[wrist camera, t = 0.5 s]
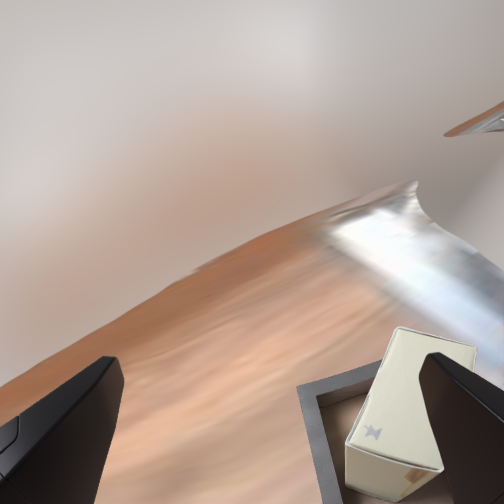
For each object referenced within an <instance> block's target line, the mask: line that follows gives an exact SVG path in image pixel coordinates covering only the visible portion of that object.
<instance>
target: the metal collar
mask: <svg viewBox="0 0 504 504" xmlns="http://www.w3.org/2000/svg"><path fill="white" fill-rule="evenodd" d="M382 360H383V359H382ZM382 360H379V361H376V362H374V363H371V364H368V365H365V366H362V367H359V368H356V369H353V370H350V371H347V372H344V373H341V374H338V375H334V376H331V377H328V378H324V379H321V380H318V381H314V382H311V383H307V384H304V385H300V386H296V387H297V392H298V396H299V400H300V404H301V409H302V413H303V417H304V422H305V426H306V430H307V435H308V439H309V443H310V448H311V452H312V456H313V461H314V465H315V470H316V474H317V478H318V483H319V487H320V492H321V496H322V501H323V504H343V501H342V497H341V493H340V489H339V485H338V481H337V477H336V473H335V469H334V465H333V461H332V457H331V453H330V449H329V445H328V441H327V437H326V434H325V430H324V426H323V422H322V418H321V414H320V411H319V408H320V407H323V406H326V405H330V404H333V403H336V402H340V401H343V400H346V399H349V398H352V397H355V396H358V395H361V394H364V393H367V392H369V391H370V389H371V386H372V384H373V382H374V379H375V377H376V375H377V372H378V370H379V368H380V365H381V363H382Z"/></svg>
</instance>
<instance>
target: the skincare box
mask: <svg viewBox="0 0 504 504" xmlns="http://www.w3.org/2000/svg"><path fill="white" fill-rule="evenodd" d="M433 352H441V353H442V354H444V355H446V356H447V357H449V358H451V359H452V360H454V361H456V362H457V363H459V364H460V365H462V366H464V367H465V368H467V369H469V370H470V371H472V372H474V367H475V360H476V352H477V347H476V346H474V345H470V344H466V343H462V342H459V341H455V340H451V339H448V338H444V337H440V336H437V335H432V334H429V333H425V332H422V331H418V330H414V329H410V328H406V327H402V326H399V327H397V328H396V329H395V330H394V333H393V335H392V338H391V341H390V343H389V346H388V348H387V351H386V353H385V356H384V358H383V360H382V363H381V365H380V368H379V370H378V372H377V375H376V377H375V379H374V382H373V384H372V386H371V389H370V391H369V393H368V396H367V398H366V400H365V402H364V404H363V407H362V409H361V411H360V413H359V415H358V417H357V419H356V421H355V423H354V425H353V428H352V430H351V432H350V433H349V435H348V437H347V439H346V441H345V486H346V487H348V488H350V489H352V490H355V491H358V492H360V493H363V494H366V495H368V496H371V497H374V498H378V499H381V500H384V501H389V502H393V503H397V502H398V501H400V500H402V499H403V498H405V497H406V496H408V495H409V494H411V493H413V492H414V491H415V490H417V489H419V488H420V487H421V486H423V485H424V484H426V483H427V482H428V481H430V480H431V479H433V478H434V477H435V476H437V475H438V474H440V473H441V472H442V471H443V470H444V466H443V463H442V459H441V456H440V453H439V450H438V447H437V444H436V441H435V438H434V435H433V432H432V429H431V426H430V423H429V420H428V416H427V412H426V407H425V403H424V399H423V395H422V391H421V387H420V384H419V372H420V369H421V367H422V364H423V362H424V359H425V357H426V355H427V354H428V353H433Z"/></svg>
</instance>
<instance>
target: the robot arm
mask: <svg viewBox="0 0 504 504" xmlns="http://www.w3.org/2000/svg"><path fill="white" fill-rule="evenodd" d="M419 384H420V387H421V391H422V395H423V399H424V403H425V407H426V412H427V416H428V420H429V423H430V426H431V429H432V432H433V435H434V438H435V441H436V444H437V447H438V450H439V453H440V456H441V459H442V463H443V466H444V469H445V473H446V476H447V479H448V483H449V487H450V490H451V494H452V498H453V501H454V504H504V391H503V390H501V389H500V388H498V387H497V386H495V385H493V384H492V383H490V382H488V381H487V380H485V379H483V378H482V377H480V376H479V375H477V374H475V373H474V372H472V371H470V370H469V369H467V368H465V367H464V366H462V365H460V364H459V363H457V362H456V361H454V360H452V359H451V358H449V357H447V356H446V355H444V354H442V353H441V352H433V353H428V354H427V355H426V357H425V359H424V362H423V364H422V367H421V369H420V372H419ZM123 388H124V376H123V373H122V370H121V367H120V364H119V361H118V359H117V358H116V357H113V356H102V357H101V358H99V359H98V360H96V361H95V362H93V363H92V364H91V365H89V366H88V367H86V368H85V369H83V370H82V371H81V372H79V373H78V374H76V375H75V376H73V377H72V378H71V379H69V380H68V381H66V382H65V383H63V384H62V385H61V386H59V387H58V388H56V389H55V390H53V391H52V392H50V393H49V394H48V395H46V396H45V397H43V398H42V399H40V400H39V401H38V402H36V403H35V404H33V405H32V406H30V407H29V408H28V409H26V410H25V411H23V412H22V413H20V414H19V416H16V417H15V418H13V419H12V420H10V421H9V422H7V423H6V424H4V425H3V426H1V427H0V504H94V501H95V498H96V494H97V490H98V486H99V483H100V479H101V475H102V472H103V468H104V465H105V461H106V458H107V455H108V451H109V448H110V445H111V441H112V438H113V435H114V431H115V428H116V423H117V418H118V413H119V407H120V402H121V397H122V392H123Z"/></svg>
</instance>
